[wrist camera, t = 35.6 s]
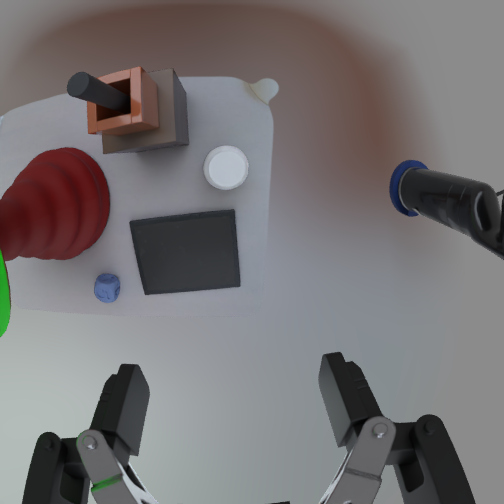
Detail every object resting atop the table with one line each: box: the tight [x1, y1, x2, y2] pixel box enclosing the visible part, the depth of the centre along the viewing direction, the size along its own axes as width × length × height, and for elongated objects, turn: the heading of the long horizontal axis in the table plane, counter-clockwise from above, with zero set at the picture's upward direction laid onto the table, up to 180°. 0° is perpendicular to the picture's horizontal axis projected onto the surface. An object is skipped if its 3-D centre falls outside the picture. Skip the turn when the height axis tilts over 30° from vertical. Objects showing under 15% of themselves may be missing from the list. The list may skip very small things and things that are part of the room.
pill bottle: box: [203, 145, 249, 190], centre depth 38 cm, size 6×6×11 cm
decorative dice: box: [94, 274, 120, 303], centre depth 45 cm, size 4×4×4 cm
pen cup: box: [87, 67, 159, 136], centre depth 22 cm, size 5×5×8 cm
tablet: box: [130, 209, 240, 295], centre depth 47 cm, size 18×14×1 cm
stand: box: [102, 68, 189, 154], centre depth 32 cm, size 9×9×14 cm
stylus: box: [67, 72, 131, 114], centre depth 19 cm, size 2×2×14 cm
